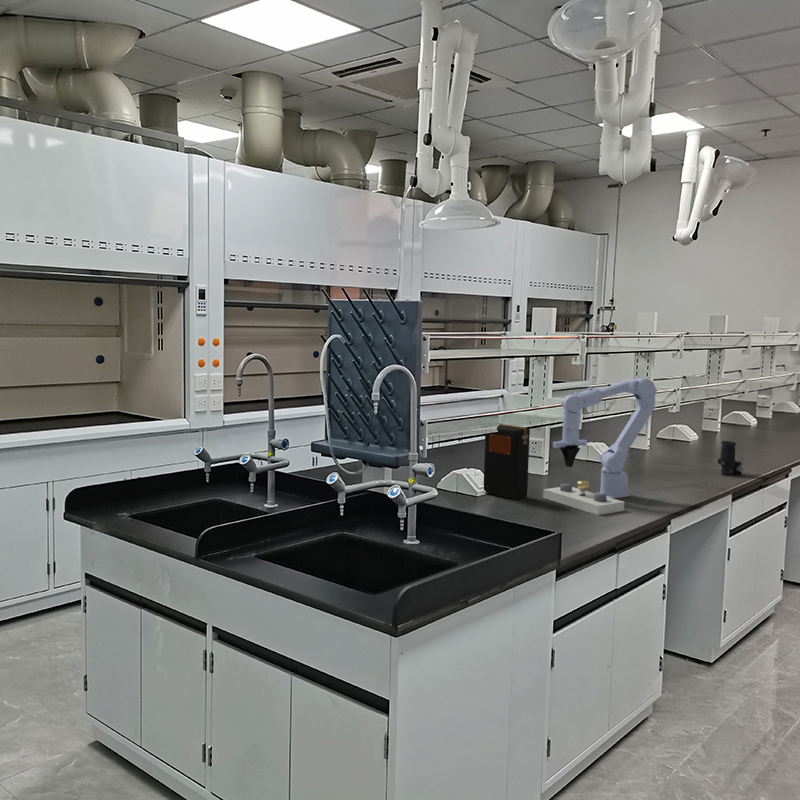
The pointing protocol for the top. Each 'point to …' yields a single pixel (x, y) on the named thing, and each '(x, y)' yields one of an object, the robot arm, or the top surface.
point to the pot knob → (582, 486)
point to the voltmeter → (507, 461)
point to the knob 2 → (600, 497)
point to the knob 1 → (566, 487)
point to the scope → (729, 460)
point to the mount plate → (583, 501)
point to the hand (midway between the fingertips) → (569, 466)
